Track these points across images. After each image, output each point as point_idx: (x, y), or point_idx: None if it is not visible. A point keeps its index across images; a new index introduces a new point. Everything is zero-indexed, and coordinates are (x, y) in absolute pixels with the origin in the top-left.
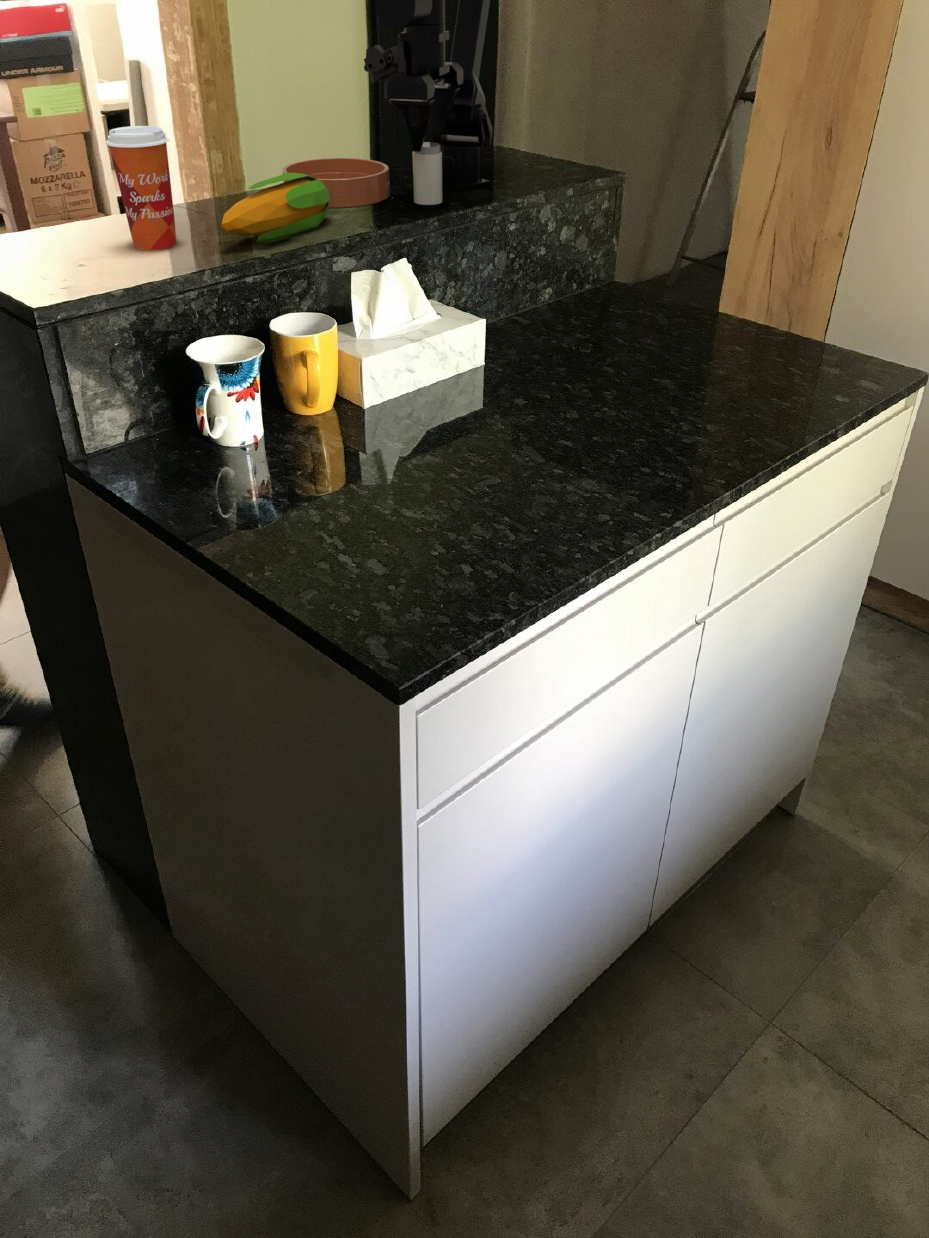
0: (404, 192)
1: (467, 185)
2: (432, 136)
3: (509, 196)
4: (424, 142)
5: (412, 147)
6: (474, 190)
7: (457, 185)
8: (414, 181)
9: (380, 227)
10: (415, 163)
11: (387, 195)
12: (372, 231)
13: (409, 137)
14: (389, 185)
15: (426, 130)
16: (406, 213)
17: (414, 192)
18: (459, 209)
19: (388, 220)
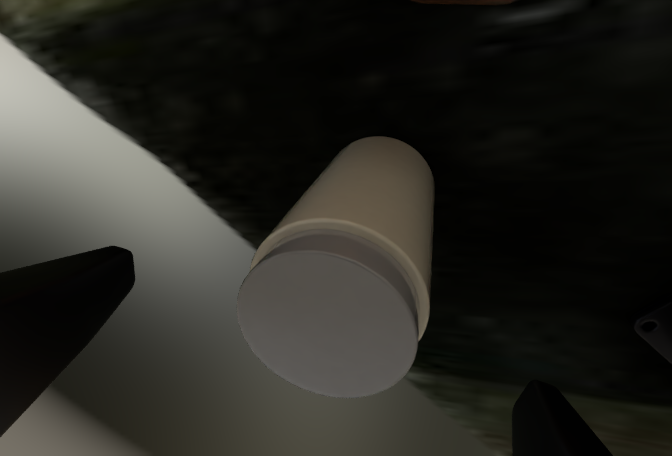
0: (668, 63)
1: (656, 342)
2: (538, 402)
3: (507, 421)
4: (401, 325)
5: (91, 253)
6: (629, 350)
7: (669, 308)
8: (329, 171)
9: (65, 44)
10: (290, 212)
11: (432, 2)
12: (15, 24)
13: (5, 273)
14: (504, 1)
15: (14, 411)
16: (256, 116)
17: (344, 155)
18: None
19: (151, 59)
